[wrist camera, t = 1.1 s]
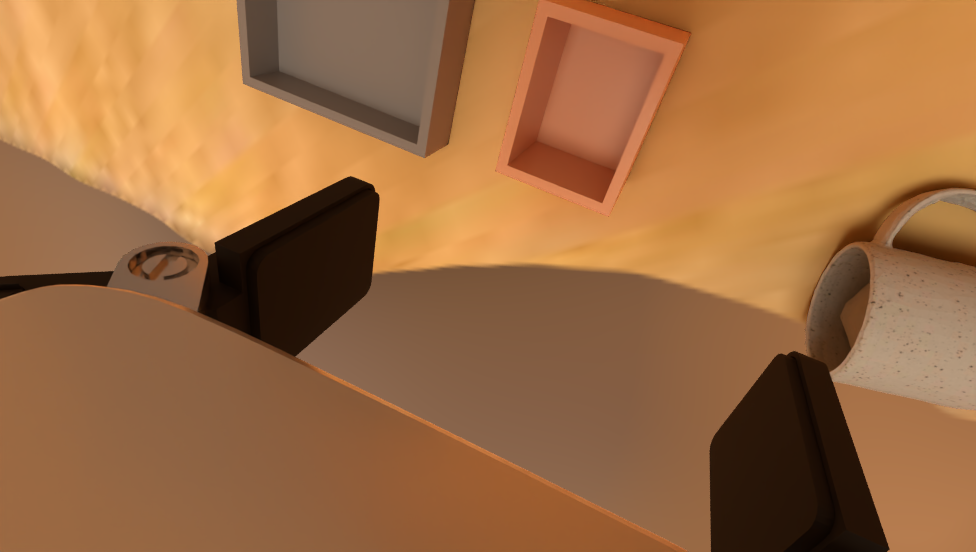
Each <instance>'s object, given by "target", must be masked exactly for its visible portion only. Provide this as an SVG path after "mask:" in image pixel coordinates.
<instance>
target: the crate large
mask: <svg viewBox="0 0 976 552" xmlns="http://www.w3.org/2000/svg"><path fill="white" fill-rule="evenodd" d="M474 2H475V0H237V11H238V24H239V37H240V50H241V63H242V76H243V84H245V85H248V86H250V87H252V88H255V89H257V90H260V91H262V92H265V93H267V94H269V95H272V96H274V97H277V98H279V99H282V100H284V101H287V102H289V103H291V104H294V105H296V106H299V107H301V108H304V109H306V110H309V111H311V112H313V113H316V114H318V115H321V116H323V117H326V118H328V119H330V120H333V121H335V122H338V123H340V124H343V125H345V126H348V127H350V128H352V129H355V130H357V131H360V132H362V133H365V134H367V135H369V136H372V137H374V138H377V139H379V140H382V141H384V142H387V143H389V144H391V145H394V146H396V147H399V148H401V149H404V150H406V151H408V152H411V153H413V154H416V155H418V156H421V157H423V158H426V157H427V156H429V155H431V154H432V153H434V152H436V151H437V150H439V149H441V148H443V147H444V146H446V145H448V142H449V137H450V131H451V126H452V121H453V115H454V110H455V104H456V99H457V94H458V88H459V83H460V77H461V72H462V67H463V61H464V56H465V51H466V45H467V40H468V34H469V29H470V24H471V18H472V13H473V7H474Z"/></svg>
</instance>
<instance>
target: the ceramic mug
mask: <svg viewBox="0 0 976 552" xmlns="http://www.w3.org/2000/svg"><path fill="white" fill-rule="evenodd" d="M939 200H941V201H944V202H948V203H952V204H957V205H960V206H964V207H966V208H969V209H972V210H974V211H976V190H974V189H967V188H948V189H942V190H935V191H929V192H925V193H921V194H919V195H917V196H915V197H913V198H911V199H909V200H907V201H905V202H904V203H902V204H901V205H900V206H898V207H897V208H896V209H895V210H894V211H893V212H892V213H891V214H890V215H889V216H888V217H887V219H886V220H885V221H884V222H883V224H882V225H881V227H880V228H879V230H878V231H877V233H876V234H875V237H874V239H873V240H872V241H871V242H853V243H850V244H848V245H846V246H845V247H844V248H843V249H841V250H840V251H839V252H838V253H837V254H836V255H835V256H834V257H833V259H832V260H831V262H830V263H829V265H828V266H827V268H826V269H825V271H824V272H823V274H822V276H821V278H820V280H819V282H818V285H817V287H816V289H815V291H814V295H813V297H812V300H811V304H810V308H809V312H808V316H807V323H806V328H805V332H806V339H805V344H806V352H807V356H808V357H811V358H813V359H816V360H819V361H821V362H823V363H825V364H826V365H827V367H828V370H829V373H830V376H831V379H832V381H833V382H838V383H844V384H848V385H853V386H857V387H861V388H866V389H870V390H874V391H879V392H883V393H888V394H893V395H898V396H903V397H908V398H912V399H917V400H921V401H925V402H928V403H932V404H937V405H941V406H945V407H951V408H956V409H966V410H976V267H974V266H970V265H966V264H962V263H959V262H949V261H944V260H940V259H936V258H933V257H929V256H926V255H922V254H918V253H914V252H910V251H905V250H901V249H897V248H893V246H892V242H893V239H894V237H895V235H896V234H897V233H898V232H899V231H900V230H901V228H902V226H903V225H904V224H905V223H906V222H907V221H908V220H909V219H910V218H911V216H912V215H913V214H915V213H916V212H917V211H919V210H921V209H923V208H925V207H926V206H928V205H930V204H934V203H936V202H938V201H939Z"/></svg>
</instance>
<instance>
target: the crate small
mask: <svg viewBox="0 0 976 552" xmlns="http://www.w3.org/2000/svg"><path fill="white" fill-rule="evenodd" d="M690 35H691V33H690V32H687V31H683V30H680V29H677V28H674V27H671V26H667V25H664V24H661V23H658V22H655V21H651V20H648V19H645V18H642V17H639V16H635V15H632V14H629V13H626V12H623V11H619V10H616V9H613V8H610V7H607V6H603V5H600V4H597V3H594V2H591V1H587V0H539V3H538V7H537V11H536V14H535V18H534V22H533V26H532V30H531V34H530V38H529V42H528V46H527V50H526V53H525V57H524V61H523V65H522V69H521V73H520V77H519V81H518V85H517V89H516V92H515V96H514V100H513V104H512V108H511V112H510V116H509V120H508V124H507V128H506V131H505V135H504V139H503V143H502V147H501V151H500V155H499V159H498V163H497V167H496V172H499V173H501V174H504V175H506V176H509V177H511V178H514V179H516V180H519V181H521V182H524V183H526V184H528V185H531V186H533V187H536V188H538V189H541V190H543V191H546V192H548V193H551V194H553V195H556V196H558V197H561V198H563V199H566V200H568V201H571V202H573V203H576V204H578V205H581V206H583V207H586V208H588V209H591V210H593V211H596V212H598V213H600V214H603V215H605V216H608V217H609V215H610V213H611V211H612V209H613V207H614V205H615V203H616V201H617V199H618V197H619V195H620V193H621V191H622V189H623V187H624V185H625V183H626V181H627V178H628V176H629V174H630V171H631V169H632V167H633V165H634V162H635V160H636V158H637V156H638V153H639V151H640V149H641V146H642V144H643V142H644V140H645V137H646V135H647V133H648V131H649V128H650V126H651V124H652V121H653V119H654V117H655V115H656V112H657V110H658V108H659V106H660V103H661V101H662V99H663V96H664V94H665V92H666V90H667V87H668V85H669V83H670V80H671V78H672V76H673V74H674V71H675V69H676V67H677V65H678V62H679V60H680V58H681V55H682V53H683V51H684V49H685V46H686V44H687V42H688V40H689V37H690Z"/></svg>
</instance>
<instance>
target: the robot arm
mask: <svg viewBox="0 0 976 552" xmlns="http://www.w3.org/2000/svg"><path fill="white" fill-rule="evenodd" d="M378 211H379V194H378V193H376V192H375V188H374V186H373V185H372V184H370V183H367V182H365V181H362V180H359V179H357V178H354V177H351V176H350V177H347V178H345V179H343V180H341V181H339V182H337V183H334V184H332V185H330V186H328V187H326V188H324V189H322V190H320V191H318V192H316V193H314V194H312V195H310V196H308V197H306V198H304V199H302V200H300V201H298V202H296V203H294V204H292V205H290V206H288V207H286V208H284V209H282V210H280V211H278V212H276V213H274V214H272V215H270V216H268V217H266V218H264V219H262V220H259V221H257V222H255V223H253V224H251V225H249V226H247V227H245V228H243V229H241V230H239V231H237V232H235V233H233V234H231V235H229V236H227V237H225V238H223V239H221V240H219V241H217V242H215V249H216V252H215V253H213V254H211V255H209V256H207V255H206V253H205V252H204V251H203V250H202V249H200V248H198V247H197V246H195V245H191V244H187V243H182V242H158V243H152V244H147V245H144V246H141V247H138V248H136V249H133V250H131V251H130V252H128V253H127V254H125V255H124V256H123V257H122V258H121V259H120V261H119V262H118V264H117V266H116V268H115V270H114V271H108V272H87V273H65V274H43V275H22V276H5V277H0V552H689V551H687V550H685V549H683V548H681V547H679V546H677V545H675V544H674V543H672V542H670V541H668V540H666V539H664V538H662V537H660V536H658V535H656V534H654V533H652V532H650V531H648V530H646V529H644V528H642V527H639V526H638V525H636V524H634V523H632V522H630V521H628V520H626V519H624V518H622V517H620V516H618V515H616V514H614V513H612V512H610V511H607V510H606V509H604V508H602V507H600V506H598V505H596V504H594V503H592V502H590V501H588V500H585V499H584V498H582V497H580V496H578V495H576V494H574V493H572V492H570V491H568V490H565V489H564V488H561V487H560V486H558V485H556V484H553V483H552V482H550V481H547V480H545V479H543V478H542V477H540V476H538V475H536V474H533V473H532V472H530V471H527V470H525V469H523V468H521V467H519V466H517V465H515V464H513V463H511V462H509V461H507V460H505V459H503V458H501V457H499V456H497V455H495V454H493V453H491V452H489V451H486V450H485V449H483V448H481V447H479V446H477V445H475V444H473V443H470V442H469V441H467V440H464V439H463V438H461V437H458V436H456V435H454V434H452V433H450V432H448V431H446V430H444V429H442V428H440V427H438V426H436V425H434V424H432V423H430V422H428V421H426V420H424V419H422V418H420V417H418V416H416V415H414V414H412V413H410V412H408V411H406V410H403V409H401V408H399V407H397V406H395V405H393V404H391V403H389V402H387V401H385V400H383V399H381V398H379V397H377V396H375V395H373V394H371V393H368V392H367V391H364V390H362V389H360V388H358V387H356V386H354V385H352V384H350V383H348V382H346V381H344V380H342V379H340V378H338V377H335V376H333V375H331V374H329V373H327V372H325V371H323V370H321V369H319V368H317V367H315V366H313V365H311V364H309V363H307V362H305V361H302V360H301V359H298V358H296V357H295V356H296V355H297V354H299V353H300V352H301V351H302V350H303V349H304V348H306V347H307V346H308V345H309V344H310V343H311V342H313V341H314V340H315V339H316V338H317V337H318V336H319V335H320V334H322V333H323V332H324V331H325V330H326V329H327V328H329V327H330V326H331V325H332V324H333V323H334V322H335V321H337V320H338V319H339V318H340V317H341V316H342V315H344V314H345V313H346V312H347V311H348V310H349V309H350V308H352V307H353V306H354V305H355V304H356V303H357V302H358V301H360V300H361V299H362V298H363V297H364V296H365V295H366V294H367V292H368V290H369V288H370V286H371V280H372V271H373V261H374V251H375V241H376V231H377V221H378ZM710 511H711V552H887V551H888V550H889V547H888V543H887V541H886V537H885V535H884V532H883V529H882V526H881V523H880V520H879V517H878V514H877V511H876V508H875V505H874V502H873V499H872V496H871V493H870V490H869V488H868V485H867V482H866V479H865V476H864V473H863V470H862V467H861V464H860V461H859V458H858V455H857V452H856V449H855V446H854V443H853V440H852V437H851V435H850V432H849V429H848V426H847V423H846V420H845V417H844V414H843V411H842V408H841V405H840V402H839V399H838V396H837V393H836V390H835V387H834V385H833V382H832V379H831V376H830V373H829V370H828V367H827V365H826V364H825V363H823V362H821V361H819V360H816V359H813V358H811V357H808V356H806V355H803V354H801V353H798V352H795V351H793V352H790V353H789V354H788V355H784V354H778V355H777V356H776V357H775V358H774V359H773V360H772V362H771V363H770V364H769V365H768V367H767V368H766V369H765V371H764V372H763V374H761V376H760V377H759V378H758V380H757V381H756V382H755V384H754V385H753V386H752V387H751V389H750V390H749V391H748V393H747V394H746V395H745V397H744V398H743V399H742V401H741V402H740V403H739V404H738V406H737V407H736V408H735V409H734V411H733V412H732V413H731V415H730V416H729V417H728V418H727V420H726V421H725V422H724V424H723V425H722V426H721V428H720V429H719V430H718V432H717V433H716V434H715V436H714V438H713V440H712V442H711V446H710Z"/></svg>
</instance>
